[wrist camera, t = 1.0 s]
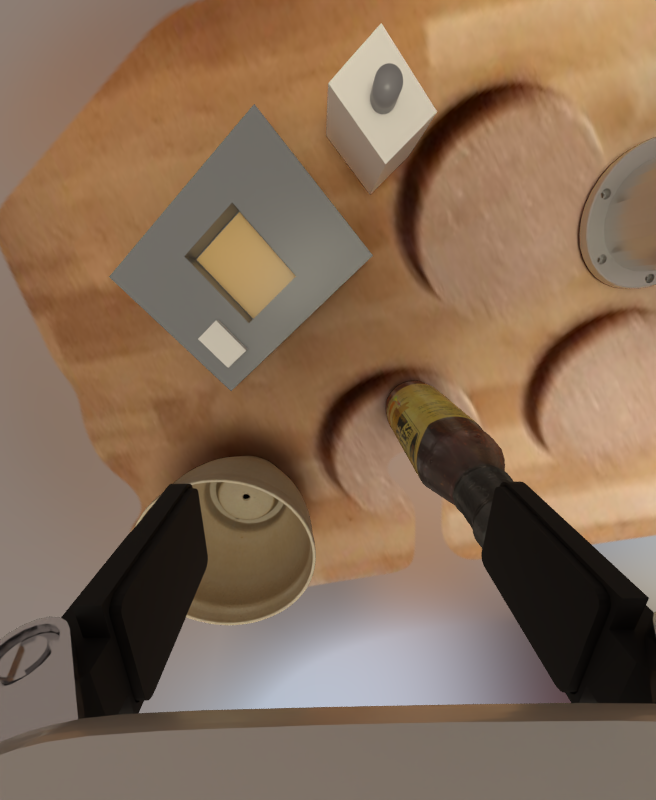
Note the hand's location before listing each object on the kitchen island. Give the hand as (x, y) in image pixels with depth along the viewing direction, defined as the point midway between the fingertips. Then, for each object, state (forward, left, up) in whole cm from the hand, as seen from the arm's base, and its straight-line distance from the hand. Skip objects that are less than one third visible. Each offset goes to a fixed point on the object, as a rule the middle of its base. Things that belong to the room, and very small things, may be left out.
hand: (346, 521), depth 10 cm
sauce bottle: (-4, +10, -25) cm, 27 cm away
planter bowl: (+17, +5, -25) cm, 31 cm away
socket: (-1, -12, -25) cm, 27 cm away
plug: (-16, -12, -25) cm, 32 cm away
